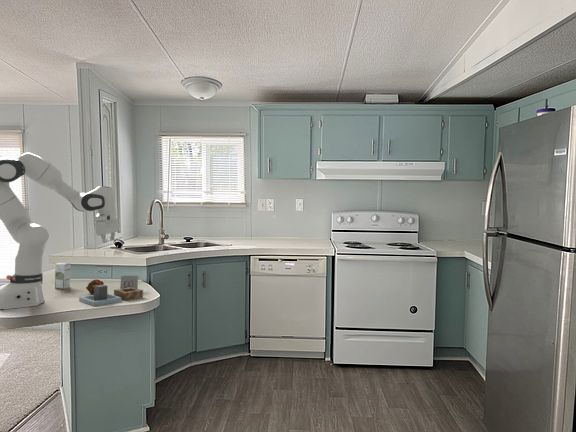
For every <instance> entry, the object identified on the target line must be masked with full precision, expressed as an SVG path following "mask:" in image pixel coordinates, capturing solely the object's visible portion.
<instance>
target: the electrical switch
mask: <svg viewBox="0 0 576 432" xmlns="http://www.w3.org/2000/svg"><path fill="white" fill-rule="evenodd" d="M119 285H120V286H119V289H123V288H130V287H133V288H137V289H139V287H138V285H139V276H138V275H121V276H120V284H119Z"/></svg>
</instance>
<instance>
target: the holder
mask: <svg viewBox="0 0 576 432" xmlns="http://www.w3.org/2000/svg"><path fill="white" fill-rule="evenodd" d="M113 295H115V296H118V297H121V301H131V299H132V300H136V299H135V298H138V299H141V298H140V297H144V296H143V295H144V290H143V289H140V288H138V289H137V288H133V287H130V288H123V289H120V288H118V289H114V290H113Z"/></svg>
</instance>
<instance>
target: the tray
mask: <svg viewBox="0 0 576 432" xmlns="http://www.w3.org/2000/svg"><path fill="white" fill-rule="evenodd" d="M78 300H79V302H81V303H84V304H87V305H90V306H92V307H96V306H103V305H108V304H109V305H110V304H113V303H119V302H120V303H121V302H122V300H121V297H118V296H115V295H114V294H111V293H108V292H107V299H106V300H100V301H94V294H91V295H86V296H85V295H84V296H79V298H78Z"/></svg>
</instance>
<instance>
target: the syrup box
mask: <svg viewBox="0 0 576 432" xmlns="http://www.w3.org/2000/svg"><path fill="white" fill-rule="evenodd" d="M54 267H55V273H54V289H59V290H60V289H61V290H65V289H68V288H70V286H71V262H62V261H61V262H60V261H59V262H56V263H55V265H54Z"/></svg>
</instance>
